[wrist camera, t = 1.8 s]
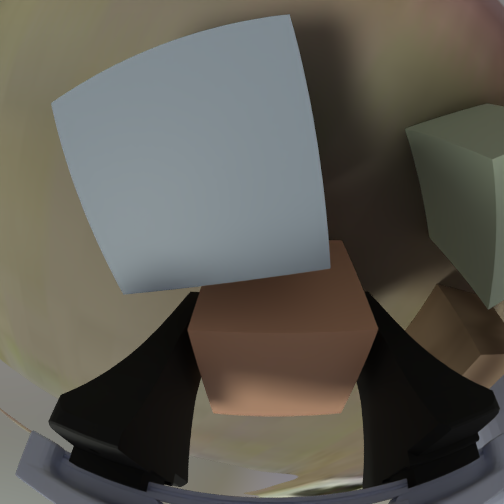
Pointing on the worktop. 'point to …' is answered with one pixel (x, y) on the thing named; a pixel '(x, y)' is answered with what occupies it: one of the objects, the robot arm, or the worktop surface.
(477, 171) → the sage cube
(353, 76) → the worktop surface
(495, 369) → the walnut cube
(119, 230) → the slate cube
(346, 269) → the terracotta cube
